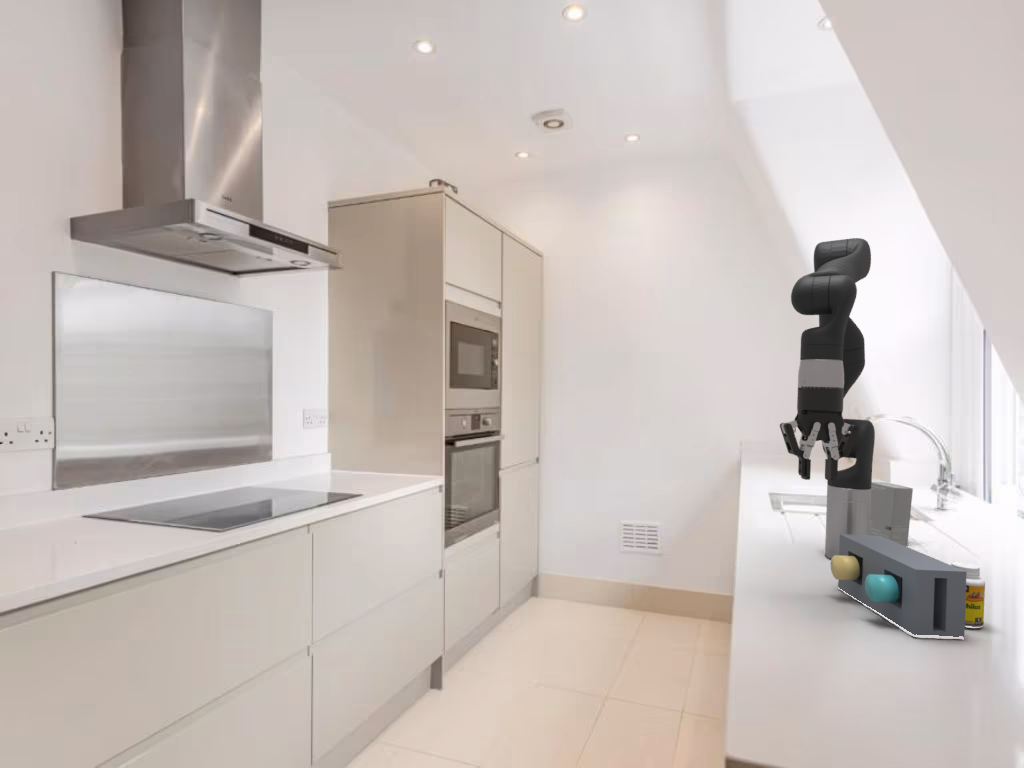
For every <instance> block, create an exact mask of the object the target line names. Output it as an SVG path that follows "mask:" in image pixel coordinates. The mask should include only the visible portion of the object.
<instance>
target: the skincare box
mask: <svg viewBox="0 0 1024 768" xmlns="http://www.w3.org/2000/svg"><path fill="white" fill-rule="evenodd" d="M913 490H914V488H912V487H908V486H905V485H900V484H895V483H891V482H885V481H883V482H882V481H880V482H879V481H872V484H871V517H870V520H871V521H872V532H871V536H882V537H884V538H887V539H889V540H891V541H894V542H896V543H899V544H901V545H903V546H906V547H908V542H909V531H910V523H911V522H910V521H911V511H912V501H913Z"/></svg>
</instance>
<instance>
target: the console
mask: <svg viewBox="0 0 1024 768" xmlns="http://www.w3.org/2000/svg"><path fill="white" fill-rule="evenodd" d="M839 555H840V556H854V557H855V558H856V559H857V561H858V563H859V567H860V574H859V577H858V579H857V580H838V579H837V588H838V587H839V588H840V589H842V590H843V591H845V592H846V593H848V594H849V595H851V596H853V597H854V598H856V599H857V600H859V601H861V602H862V603H864V604H866V605H867V606H869V607H871V608H872V609H874V610H876V611H877V612H879V613H881V614H882V615H884V616H885V617H887V618H888V619H890V620H892V621H893V622H895V623H896V624H898V625H899V626H901V627H903V628H904V629H906V630H907V631H909V632H911V633H912V634H914V635H916V634H917V635H939V636H953V637H959V636H963V637H964V638H965V633H966V632H965V631H966V630H965V629H966V628H965V602H966V571H964V570H961V569H959V568H956V567H954V566H952V565H951V564H950V563H947V562H944V561H942V560H939V559H936V558H934V557H932V556H930V555H927V554H925V553H923V552H920V551H918V550H916V549H913V548H911V547H908V546H903V545H901V544H899V543H896V542H894V541H891V540H889V539H887V538H884V537H882V536H871V535H846V534H840V544H839ZM869 574H875V575H891V576H893V577H894V578H895V580H896V582H897V584H898V588H899V596H898V599H897V600H896V601H895V602H875V601H871V600H870V599H869V598H868V596H867V593H866V590H865V579H866V577H867V576H868V575H869Z"/></svg>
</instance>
